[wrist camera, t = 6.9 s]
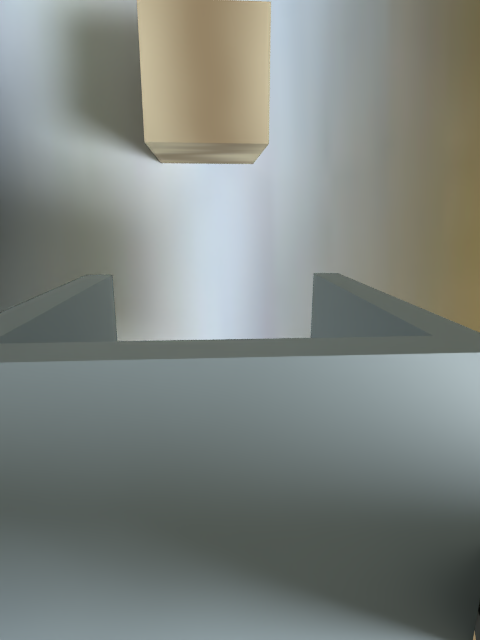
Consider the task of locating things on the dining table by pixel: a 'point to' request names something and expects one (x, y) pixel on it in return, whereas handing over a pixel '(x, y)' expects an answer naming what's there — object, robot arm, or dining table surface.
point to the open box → (239, 475)
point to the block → (205, 79)
